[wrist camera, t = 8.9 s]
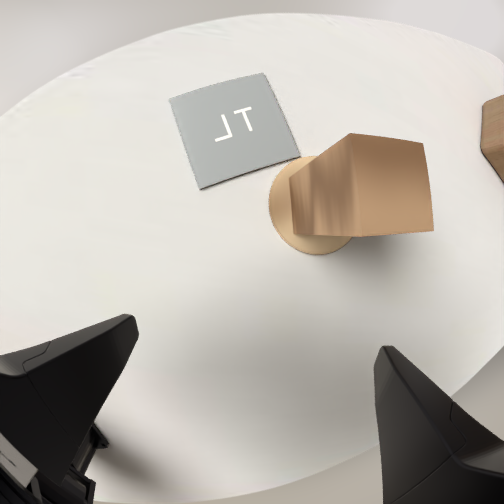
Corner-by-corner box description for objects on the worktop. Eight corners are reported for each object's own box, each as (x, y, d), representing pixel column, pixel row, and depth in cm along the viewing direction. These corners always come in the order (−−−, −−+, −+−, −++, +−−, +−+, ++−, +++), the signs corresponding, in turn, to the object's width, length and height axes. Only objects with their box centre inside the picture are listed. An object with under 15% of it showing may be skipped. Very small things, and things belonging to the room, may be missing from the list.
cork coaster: (370, 234, 21) (372, 235, 21) (288, 268, 20) (290, 269, 20) (340, 148, 20) (342, 146, 20) (254, 173, 20) (254, 171, 19)
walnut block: (344, 230, 20) (433, 231, 10) (293, 234, 20) (361, 236, 10) (339, 177, 20) (422, 143, 10) (288, 178, 20) (350, 133, 10)
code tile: (298, 156, 20) (300, 155, 20) (199, 189, 19) (199, 188, 19) (262, 74, 19) (263, 72, 19) (169, 100, 18) (168, 99, 18)
